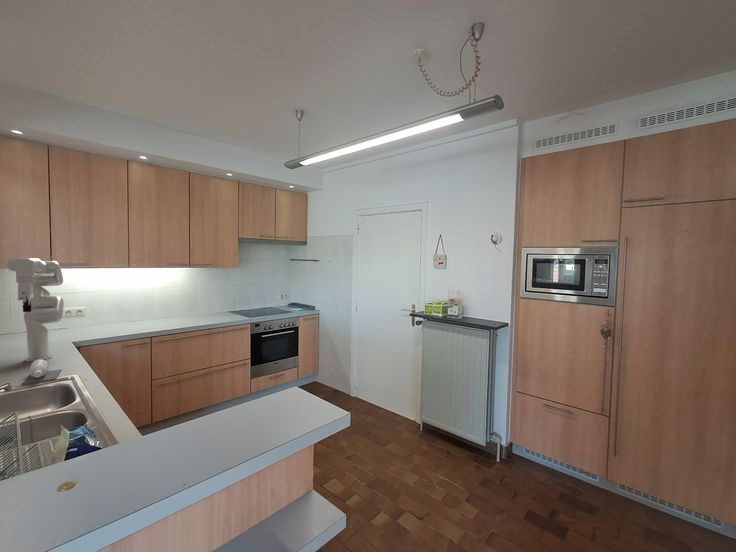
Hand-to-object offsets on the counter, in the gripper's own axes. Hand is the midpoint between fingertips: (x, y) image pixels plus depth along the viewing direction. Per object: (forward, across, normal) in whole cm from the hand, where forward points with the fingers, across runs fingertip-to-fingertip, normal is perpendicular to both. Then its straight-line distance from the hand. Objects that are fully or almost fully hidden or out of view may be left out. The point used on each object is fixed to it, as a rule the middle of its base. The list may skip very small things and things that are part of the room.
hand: (27, 311), depth 191 cm
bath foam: (+29, +14, +6) cm, 33 cm away
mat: (+33, +24, +9) cm, 42 cm away
